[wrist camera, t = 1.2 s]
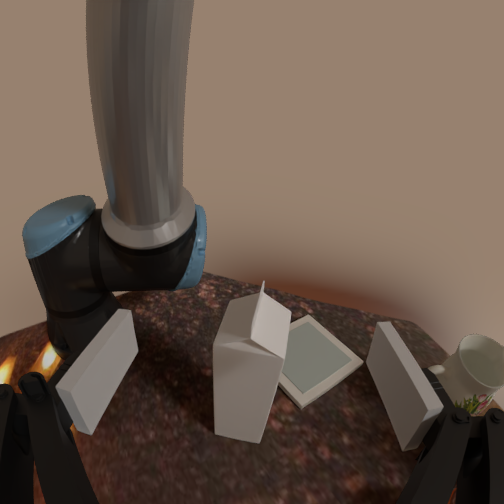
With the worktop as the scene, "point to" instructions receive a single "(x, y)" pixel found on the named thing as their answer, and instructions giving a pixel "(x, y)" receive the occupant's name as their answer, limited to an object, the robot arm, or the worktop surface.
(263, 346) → the milk
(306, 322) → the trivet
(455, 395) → the pitcher
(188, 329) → the worktop surface
